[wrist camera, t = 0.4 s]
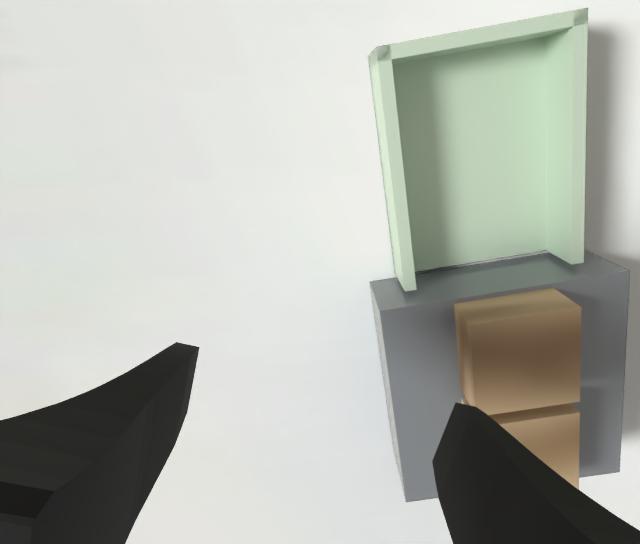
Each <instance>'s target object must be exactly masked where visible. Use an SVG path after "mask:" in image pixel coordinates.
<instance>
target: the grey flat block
mask: <svg viewBox="0 0 640 544" xmlns="http://www.w3.org/2000/svg"><path fill="white" fill-rule="evenodd" d="M629 276H630V271H629V270H627V269H625V268H623V267H620V266H618V265H616V264H614V263H612V262H610V261H608V260H606V259H604V258H601V257H599V256H597V255H595V254H593V253H591V252H589V251H587V250H585V249H584V263H579V264H572V265H571V264H570V263H568V262H566V261H564V260H562V259H561V258H559V257H557V256H555V255H553V254H552V253H544V254H538V255H532V256H526V257H519V258H513V259H507V260H501V261H495V262H489V263H483V264H476V265H470V266H464V267H458V268H452V269H446V270H440V271H434V272H427V273H421V274H415V280H416V289H417V290H412V291H404V289H403V287H402V285H401V283H400V282H399V280H398V278H391V279H384V280H378V281H372V282H370V289H371V296H372V303H373V310H374V317H375V324H376V331H377V338H378V344H379V351H380V358H381V365H382V372H383V379H384V386H385V393H386V400H387V407H388V414H389V421H390V428H391V435H392V442H393V449H394V454H395V458H396V463H397V467H398V471H399V475H400V479H401V483H402V487H403V492H404V496H405V500H406V502H412V501H419V500H426V499H433V498H439V497H438V492H437V487H436V482H435V476H434V470H433V464H432V460H433V458H434V455H435V453H436V450H437V448H438V445H439V443H440V440H441V438H442V435H443V433H444V430H445V428H446V425H447V423H448V420H449V417H450V415H451V412H452V410H453V407H454V405H455V402H456V403H461V404H462V398H466V397H465V395H464V393H463V392H462V390H461V386H460V374H459V361H458V349H457V337H456V324H455V312H454V304H455V303H462V302H468V301H474V300H480V299H487V298H493V297H499V296H505V295H512V294H518V293H524V292H530V291H537V290H543V289H549V288H555V289H556V290H557V291H559V292H560V293H562V294H563V295H565V296H566V297H567V298H569V299H570V300H572V301H573V302H575V303H576V304H578V305H579V306H580V307H582V308H581V373H580V402H574V403H572V404H573V405H574V407H575V408H576V409H577V410H578V411H579V412H580V438H579V478H580V477H587V476H594V475H602V474H609V473H616V472H620V454H621V434H622V414H623V395H624V375H625V355H626V336H627V316H628V296H629Z"/></svg>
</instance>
